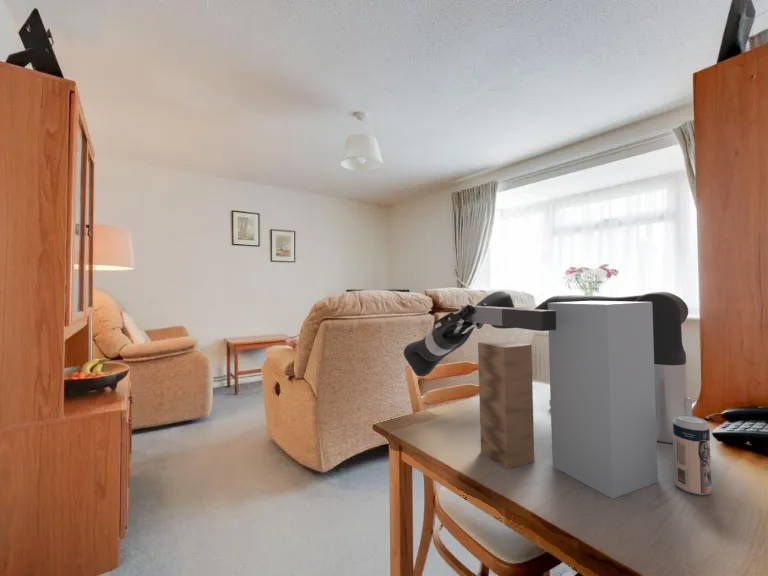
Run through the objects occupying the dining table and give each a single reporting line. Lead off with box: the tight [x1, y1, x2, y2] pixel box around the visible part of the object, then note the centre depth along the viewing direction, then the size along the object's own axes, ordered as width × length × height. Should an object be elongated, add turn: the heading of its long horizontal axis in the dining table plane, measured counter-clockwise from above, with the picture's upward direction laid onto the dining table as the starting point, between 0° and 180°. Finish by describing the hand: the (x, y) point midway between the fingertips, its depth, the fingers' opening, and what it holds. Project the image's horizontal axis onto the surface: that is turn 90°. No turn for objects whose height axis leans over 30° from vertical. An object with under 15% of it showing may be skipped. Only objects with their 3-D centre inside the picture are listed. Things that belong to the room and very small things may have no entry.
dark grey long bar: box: [458, 304, 556, 332], centre depth 75 cm, size 26×4×4 cm, turn 23°
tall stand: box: [548, 301, 659, 500], centre depth 66 cm, size 12×12×32 cm
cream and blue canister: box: [672, 415, 712, 496], centre depth 61 cm, size 5×5×12 cm
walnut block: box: [477, 339, 536, 470], centre depth 74 cm, size 8×7×24 cm
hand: (478, 307), depth 81 cm, fingers closed on dark grey long bar, 3 cm apart
